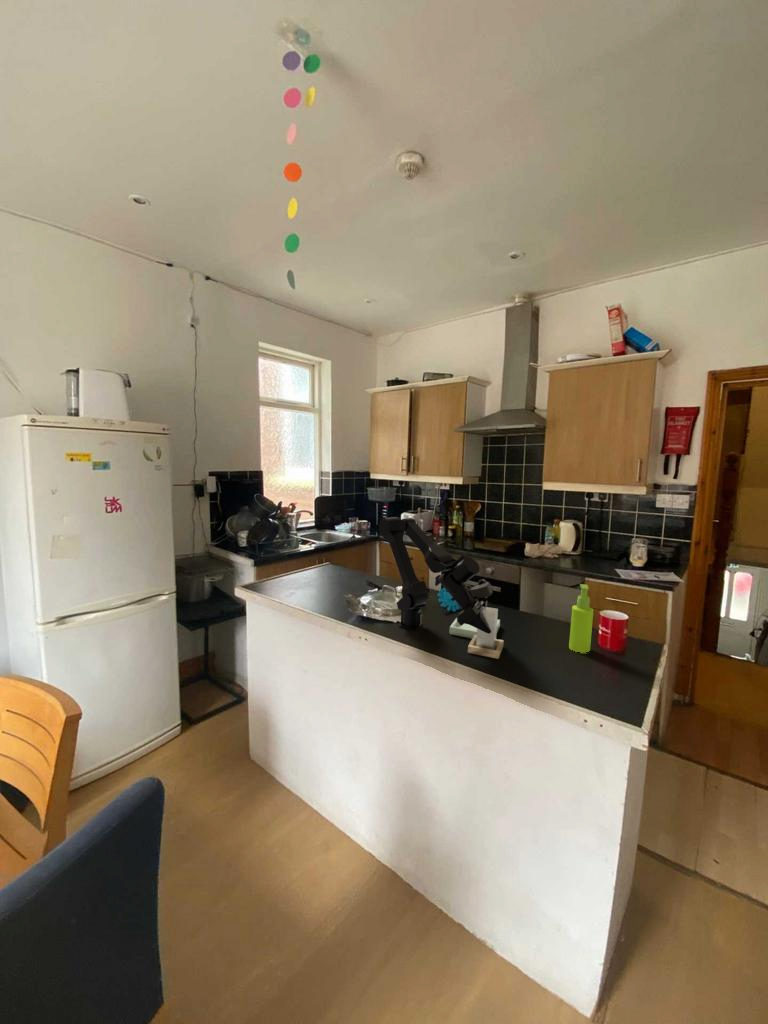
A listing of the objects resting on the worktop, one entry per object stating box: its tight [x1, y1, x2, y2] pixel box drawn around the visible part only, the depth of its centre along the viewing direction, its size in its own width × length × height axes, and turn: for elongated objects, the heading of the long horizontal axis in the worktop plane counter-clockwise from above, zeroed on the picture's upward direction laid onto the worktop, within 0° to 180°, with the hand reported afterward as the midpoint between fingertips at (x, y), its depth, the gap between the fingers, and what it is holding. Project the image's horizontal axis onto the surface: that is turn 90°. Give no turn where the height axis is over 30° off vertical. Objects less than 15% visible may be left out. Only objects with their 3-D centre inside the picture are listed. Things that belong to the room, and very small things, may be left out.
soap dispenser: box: [568, 583, 594, 654], centre depth 130 cm, size 6×7×20 cm
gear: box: [437, 587, 460, 613], centre depth 164 cm, size 11×6×10 cm
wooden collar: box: [467, 635, 504, 660], centre depth 129 cm, size 9×9×2 cm
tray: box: [449, 617, 501, 639], centre depth 143 cm, size 14×14×2 cm
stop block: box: [475, 606, 499, 650], centre depth 128 cm, size 5×5×12 cm
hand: (491, 629), depth 128 cm, fingers closed on stop block, 5 cm apart
